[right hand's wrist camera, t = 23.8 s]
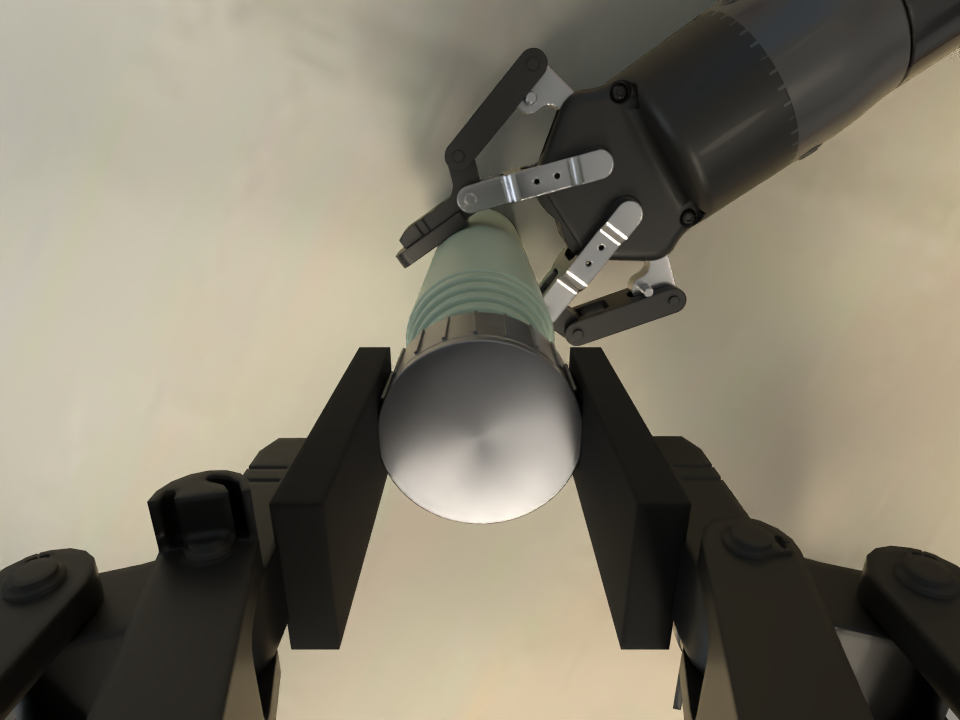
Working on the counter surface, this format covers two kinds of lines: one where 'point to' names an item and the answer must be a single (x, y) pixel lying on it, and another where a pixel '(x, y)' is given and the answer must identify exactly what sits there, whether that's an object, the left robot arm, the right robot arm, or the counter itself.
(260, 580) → the right robot arm
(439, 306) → the bottle
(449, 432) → the cap
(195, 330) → the counter surface
